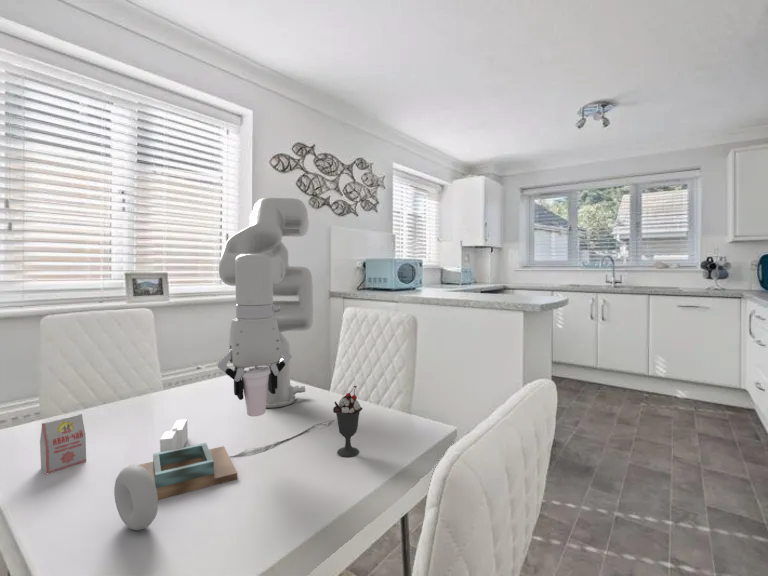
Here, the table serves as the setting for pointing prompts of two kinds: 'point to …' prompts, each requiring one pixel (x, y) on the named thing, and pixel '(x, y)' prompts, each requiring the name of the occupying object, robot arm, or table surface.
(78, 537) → the table surface
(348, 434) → the sundae
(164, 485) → the holder board
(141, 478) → the donut
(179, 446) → the white stepped block
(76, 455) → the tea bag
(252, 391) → the smoothie
